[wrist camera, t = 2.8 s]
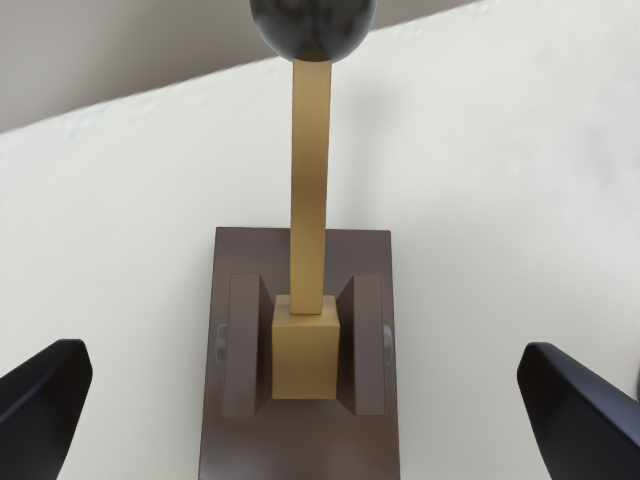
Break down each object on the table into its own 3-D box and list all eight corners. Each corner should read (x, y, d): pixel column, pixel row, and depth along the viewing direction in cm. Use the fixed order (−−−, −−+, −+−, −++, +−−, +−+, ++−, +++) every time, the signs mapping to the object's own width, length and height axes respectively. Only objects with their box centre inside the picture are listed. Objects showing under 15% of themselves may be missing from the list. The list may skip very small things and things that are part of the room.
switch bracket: (220, 234, 24) (178, 163, 15) (385, 237, 24) (434, 170, 16) (203, 480, 20) (138, 566, 12) (394, 479, 21) (461, 560, 12)
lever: (255, -56, 13) (239, -112, 10) (371, -50, 14) (394, -103, 10) (258, 352, 18) (248, 411, 14) (348, 352, 18) (359, 411, 14)
